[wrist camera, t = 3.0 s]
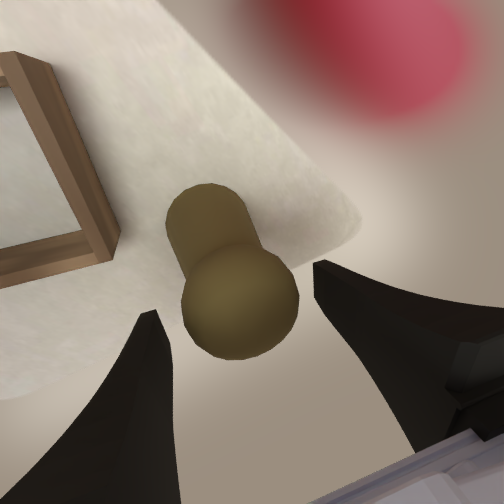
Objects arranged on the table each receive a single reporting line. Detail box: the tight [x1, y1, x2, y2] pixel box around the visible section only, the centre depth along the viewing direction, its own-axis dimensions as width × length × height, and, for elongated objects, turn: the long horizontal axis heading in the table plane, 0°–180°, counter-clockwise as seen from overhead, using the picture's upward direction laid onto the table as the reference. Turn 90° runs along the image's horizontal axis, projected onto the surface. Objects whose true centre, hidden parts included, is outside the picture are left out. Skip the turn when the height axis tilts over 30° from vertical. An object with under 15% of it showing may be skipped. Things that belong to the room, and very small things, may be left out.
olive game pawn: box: [165, 183, 299, 360], centre depth 16 cm, size 6×6×11 cm
